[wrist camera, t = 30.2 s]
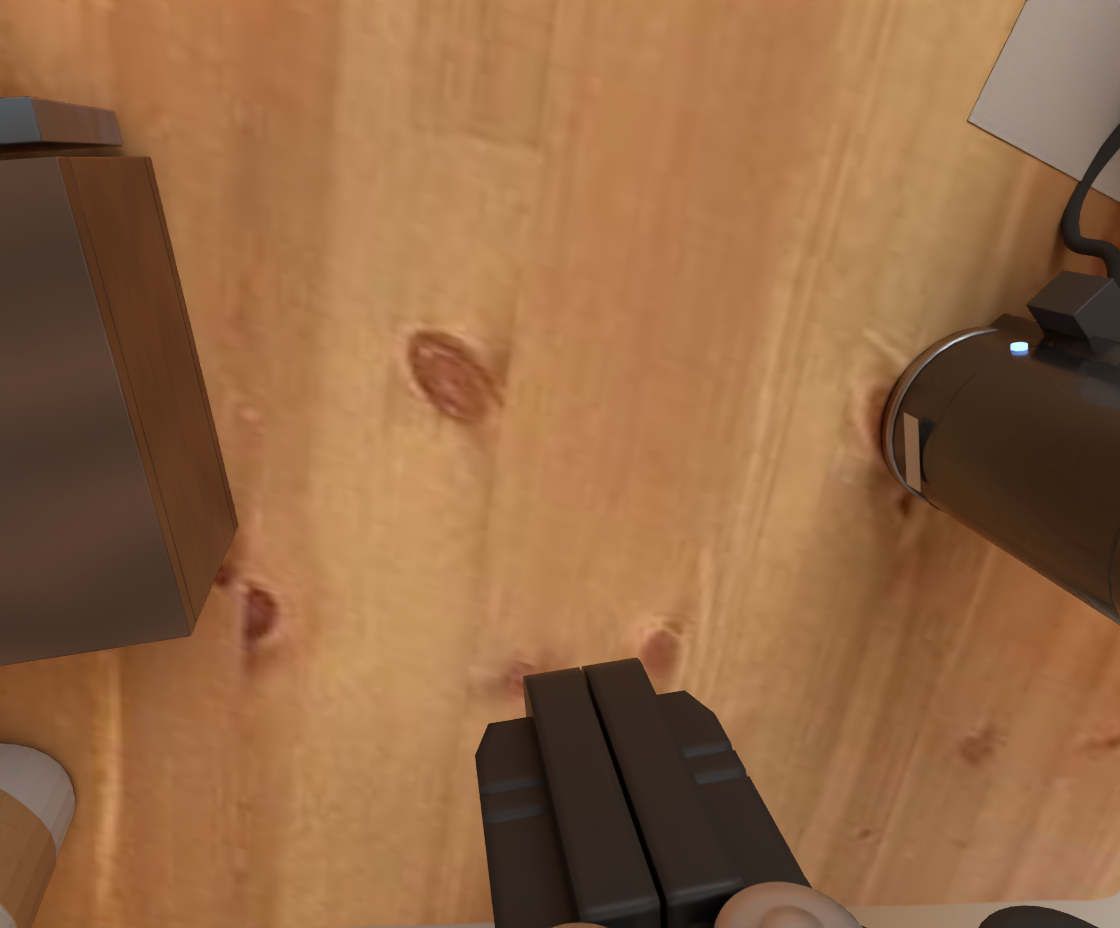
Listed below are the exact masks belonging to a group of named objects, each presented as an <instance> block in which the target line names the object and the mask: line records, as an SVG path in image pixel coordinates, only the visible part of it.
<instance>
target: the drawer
mask: <svg viewBox="0 0 1120 928" xmlns="http://www.w3.org/2000/svg"><path fill="white" fill-rule="evenodd" d="M116 146H122V140H121V136H120V132H119V128H118V124H117V120H116V116H115V112H114V111H112V110H106V109H100V108H94V107H88V106H82V105H76V104H70V103H64V102H58V101H52V100H46V99H40V98H34V97H28V96H25V97H8V98H0V154H14V153H29V152H43V151H58V150H73V149H87V148H102V147H116Z"/></svg>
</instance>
